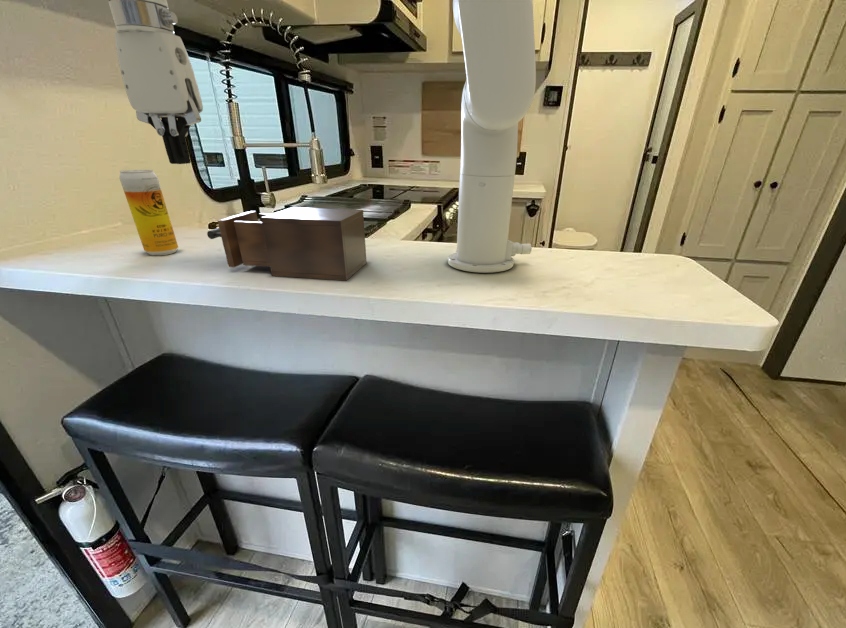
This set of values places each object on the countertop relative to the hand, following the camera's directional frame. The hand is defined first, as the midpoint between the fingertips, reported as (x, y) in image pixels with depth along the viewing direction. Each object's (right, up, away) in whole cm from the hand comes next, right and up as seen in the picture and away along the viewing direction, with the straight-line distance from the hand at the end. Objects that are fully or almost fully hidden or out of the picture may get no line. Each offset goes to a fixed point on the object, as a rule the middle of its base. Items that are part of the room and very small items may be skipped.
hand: (180, 163), depth 70 cm
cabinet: (+23, -17, +6) cm, 29 cm away
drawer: (+12, -15, +7) cm, 20 cm away
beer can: (-13, -11, +15) cm, 22 cm away
